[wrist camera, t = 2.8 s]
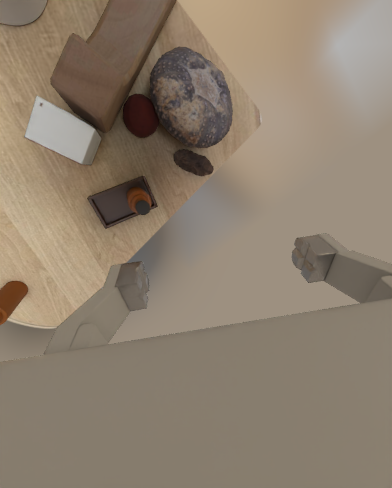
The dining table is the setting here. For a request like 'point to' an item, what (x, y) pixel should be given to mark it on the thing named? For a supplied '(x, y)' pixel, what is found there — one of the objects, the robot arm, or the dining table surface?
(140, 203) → the tray bottle
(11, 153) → the dining table surface
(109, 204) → the tray
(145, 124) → the potato
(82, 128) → the small box
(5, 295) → the loose bottle
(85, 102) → the decorative block
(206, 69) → the sea urchin shell
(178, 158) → the stone
